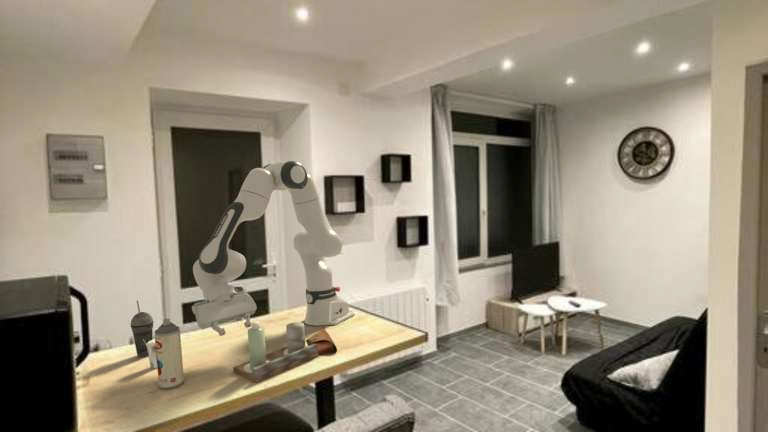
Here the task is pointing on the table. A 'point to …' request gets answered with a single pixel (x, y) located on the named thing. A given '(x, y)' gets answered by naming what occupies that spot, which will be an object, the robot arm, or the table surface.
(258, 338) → the slim bottle
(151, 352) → the milkshake
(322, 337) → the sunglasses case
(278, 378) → the table surface
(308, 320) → the robot arm
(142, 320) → the beverage cup
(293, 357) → the rail stand
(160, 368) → the aerosol can
